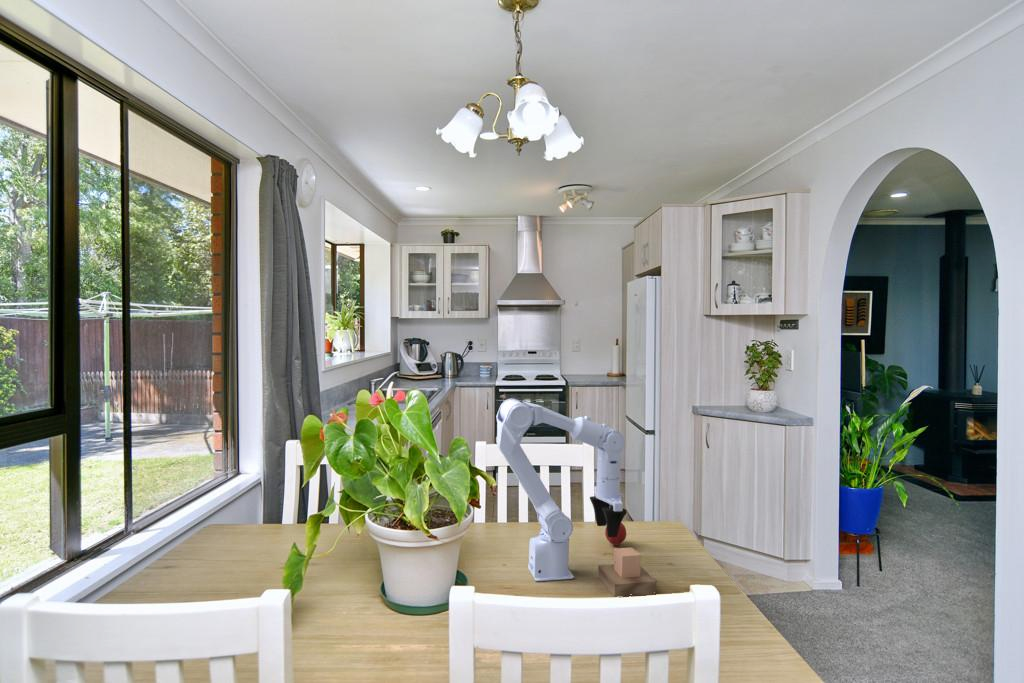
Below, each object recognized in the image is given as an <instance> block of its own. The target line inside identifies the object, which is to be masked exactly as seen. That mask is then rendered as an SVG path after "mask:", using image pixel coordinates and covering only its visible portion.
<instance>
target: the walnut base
mask: <svg viewBox="0 0 1024 683" xmlns="http://www.w3.org/2000/svg"><path fill="white" fill-rule="evenodd" d="M597 570H598V571H597V578H598V580H599V581H600V582H601V583H602V585H603V586H604V587H605V588H606V589H607V591H608V592H609V593H610V594H611V595H612V597H613V598H614V597H617V596H631V597H641V596H642V595H644V596H653V594H656V595H657V580H655V578H654V577H653V576H652V575H651V574H650V573H649V572H647V570H646V569H644V568H643V567H642V566H641V565H640V577H629V578H621V577H620V576H619V575H618V574H617V572H616V571H615V570H614V563H613V564H599V565H598V568H597ZM654 592H655V593H654ZM630 594H632V595H630Z"/></svg>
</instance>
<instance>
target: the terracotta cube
mask: <svg viewBox="0 0 1024 683" xmlns="http://www.w3.org/2000/svg"><path fill="white" fill-rule="evenodd" d="M613 554H614V556H613V564H614V570H615V571H616V572H617V574H618V575H619V576H620V577H621V578H629V577H640V566H641V557H642V555H641V554H640V552H638V551H637V550H636V549H634V548H633V547H619V548H616V547H615V548H614V553H613Z"/></svg>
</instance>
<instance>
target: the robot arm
mask: <svg viewBox="0 0 1024 683" xmlns="http://www.w3.org/2000/svg"><path fill="white" fill-rule="evenodd" d="M496 423H497V424H496V445H497V447H498V449H499V450H500V453H501V454H502V455H503V457H504V459H505V461H506V462H507V464H508V465H509V467H510V469H511V470H512V472H513V474H514V475H515V477H516V479H517V480H518V482H519V483H520V486H521V487H522V488H523V490H524V492H525V493H526V495H527V497H528V499H529V500H530V502H531V503H532V505H533V507H534V508H533V509H534V510H535V511H536V514H537V515H536V516H537V522H538V524H539V525H540V527H541V529H540V531H539V535H537V536H534V537H530V539H529V546H528V565H527V568H528V571H529V572H530V574H531V575H532V577H533V579H534V581H536V582H543V581H544V582H545V581H559V580H571V579H574V578H575V576H574V575H573V573H572V572H571V570H570V569H569V560H570V558H569V557H570V556H569V554H570V537H571V536H572V534H573V531H574V524H573V521H572V520H571V518H570V517H569V516H568V515H566V514H565V513H564V512H563V511H562V510H561V509H560V507H559V506H558V504H556V502H555V501H554V499H553V497H552V496H551V495H550V492H549V491H548V490H547V488H546V486H545V484H544V483H543V481H542V480H541V478H540V476H539V474H538V473H537V471H536V470H535V467H534V465H533V464H532V463H531V461H530V459H529V457H528V456H527V455H526V453H525V451H524V449H523V448H522V446H521V444H522V440H523V436H524V435H525V433H526V432H527V431H528V430H529V428H530V427H531V426H537V425H539V424H542V423H544V424H547V425H549V426H551V427H555V428H559V429H561V430H564V431H567V432H569V435H570V437H571V438H572V439H573V440H576V441H577V442H581V443H584V444H586V445H589V446H591V447H594V448H597V460H596V462H597V465H596V485H594V486H593V488H594V492H593V493H594V494H595V496H593V495H591V496H589V499H590V502H591V504H592V507H593V511H594V516H595V521H596V522H595V523H596V525H597V527H605V526H606V527H607V535H608V537H617V534H618V531H619V527H620V524H621V523H622V521H623V519H624V518H625V516H626V514H627V510H626V508H623V506H624V505H623V504H624V503H623V502H622V498H623V499H624V498H625V494H624V493H622V492H621V488H620V487H621V463H622V462H621V461H622V459H621V458H622V456H621V455H622V452H623V451H624V449H625V447H626V444H627V442H626V441H625V439H624V435H622V433H621V432H620V431H618V430H616V429H614V428H611V427H609V426H608V424H606V423H602V424H600V423H598V422H596V421H593V420H592V418H591V417H589V416H587V415H584V417H583V416H579V417H576V418H571V417H569V416H566V415H563V414H561V413H558V412H556V411H553V410H551V409H549V408H547V407H544V406H542V405H540V404H536V403H532V402H528V401H523V400H522V402H521V401H520V400H518V399H517V398H508V399H506V400H504V401H503V402H501V404H500V406H499V408H498V411H497V414H496ZM606 527H605V528H606Z"/></svg>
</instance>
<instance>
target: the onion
mask: <svg viewBox="0 0 1024 683" xmlns="http://www.w3.org/2000/svg"><path fill="white" fill-rule="evenodd" d="M604 531H605V532H604V536H605V538H606V539H607V541H608V542H609V543H610V544H611V545H612V546H614V547H618V546H619V545H620V544H622V543H623V542H624V541H625V540H626V539H627V529H626V527H625V524H624V523H622V522H621V524H620V527H619V531H618V534H617V537H608V535H607V527H605V530H604Z"/></svg>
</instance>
